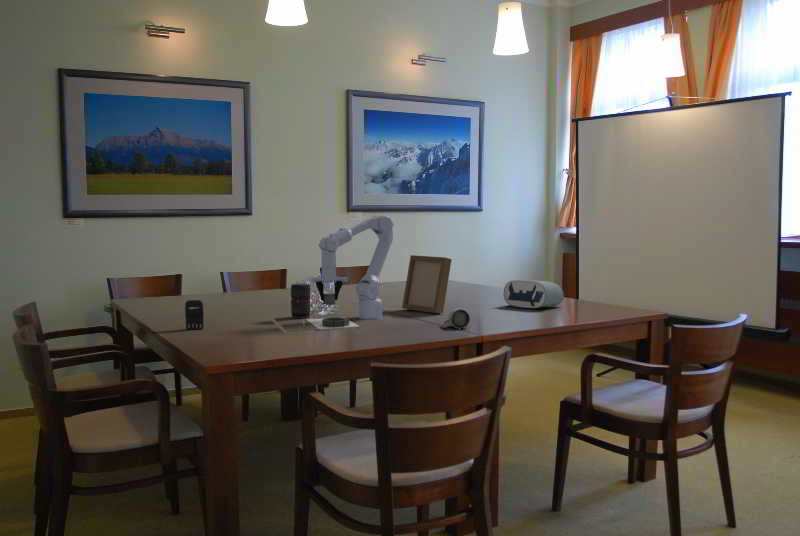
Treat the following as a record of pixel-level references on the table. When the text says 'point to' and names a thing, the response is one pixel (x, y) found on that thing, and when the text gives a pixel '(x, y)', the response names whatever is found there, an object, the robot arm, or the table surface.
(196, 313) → the black battery charger
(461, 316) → the ceramic mug
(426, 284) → the photo frame
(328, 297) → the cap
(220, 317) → the table surface
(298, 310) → the camera lens
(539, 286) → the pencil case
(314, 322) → the board
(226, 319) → the table surface
